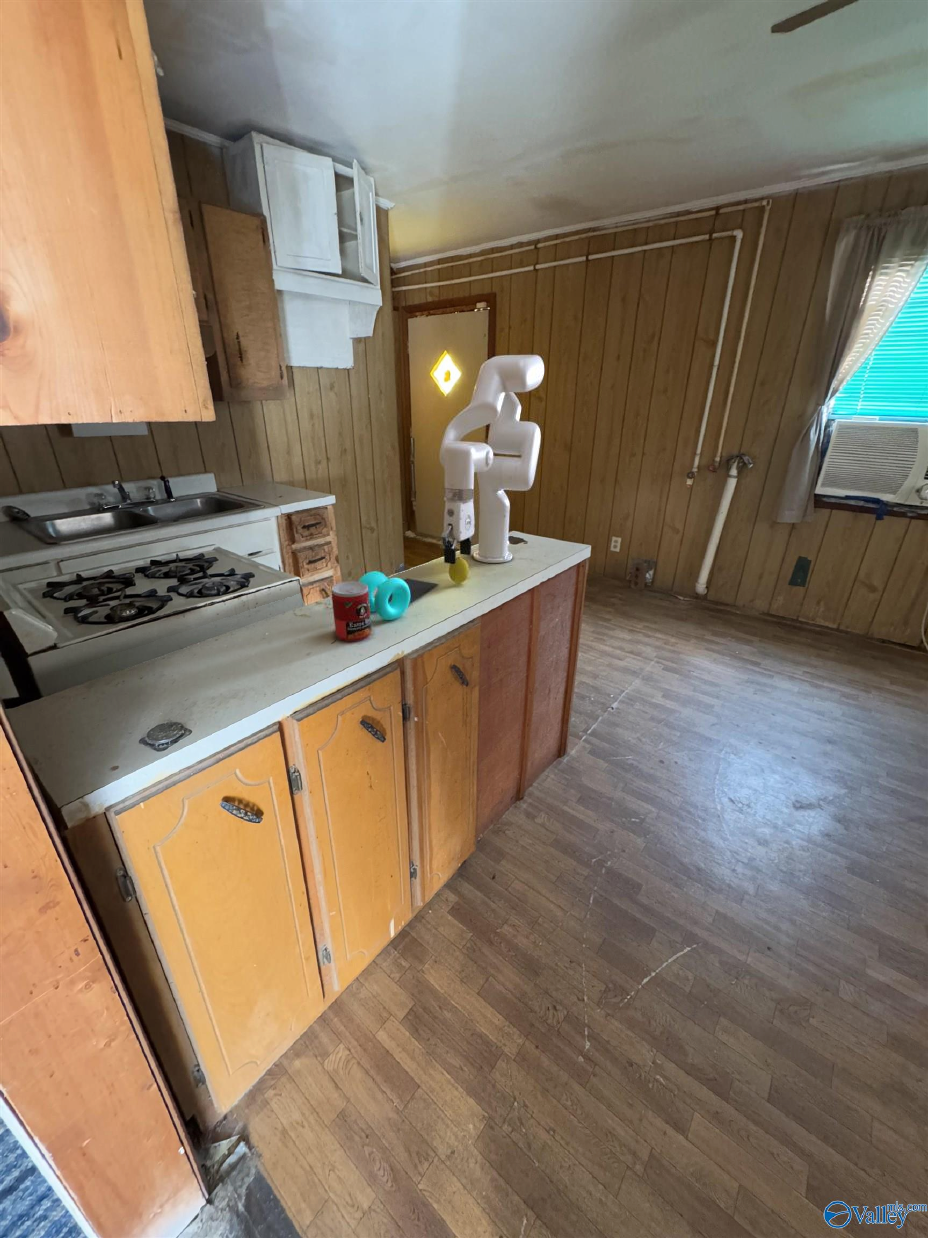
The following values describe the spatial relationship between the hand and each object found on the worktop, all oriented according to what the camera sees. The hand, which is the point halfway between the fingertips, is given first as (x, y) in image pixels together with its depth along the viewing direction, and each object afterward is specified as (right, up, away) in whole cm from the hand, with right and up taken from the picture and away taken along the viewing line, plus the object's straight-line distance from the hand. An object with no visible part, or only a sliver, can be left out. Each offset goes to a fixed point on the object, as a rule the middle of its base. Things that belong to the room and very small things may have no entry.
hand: (457, 558), depth 136 cm
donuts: (-18, -16, -16) cm, 28 cm away
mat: (-14, -9, -2) cm, 17 cm away
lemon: (0, -7, +4) cm, 8 cm away
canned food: (-23, -20, -26) cm, 40 cm away
